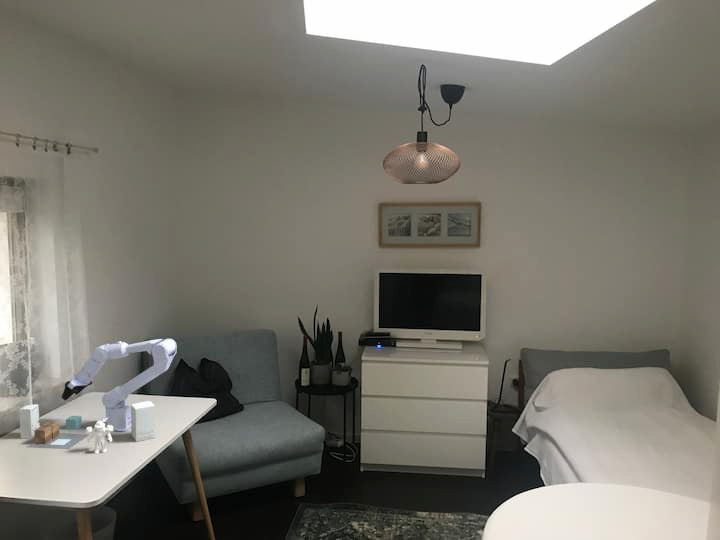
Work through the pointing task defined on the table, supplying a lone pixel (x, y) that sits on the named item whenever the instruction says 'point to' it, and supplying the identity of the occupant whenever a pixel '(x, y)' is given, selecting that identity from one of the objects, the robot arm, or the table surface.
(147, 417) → the supplement box
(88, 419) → the table surface
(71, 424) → the teal block
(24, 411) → the skincare box
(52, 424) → the walnut blocks
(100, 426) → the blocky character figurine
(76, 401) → the table surface
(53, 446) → the baseplate
